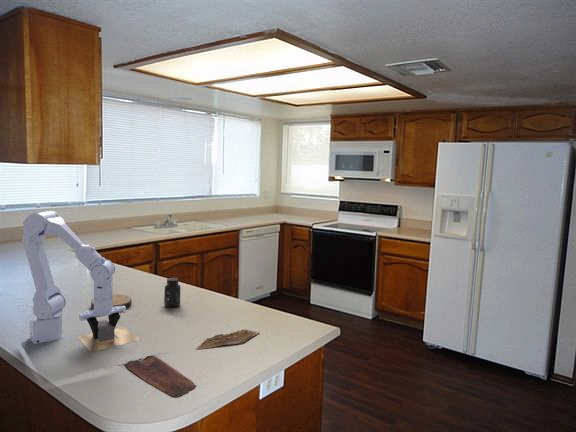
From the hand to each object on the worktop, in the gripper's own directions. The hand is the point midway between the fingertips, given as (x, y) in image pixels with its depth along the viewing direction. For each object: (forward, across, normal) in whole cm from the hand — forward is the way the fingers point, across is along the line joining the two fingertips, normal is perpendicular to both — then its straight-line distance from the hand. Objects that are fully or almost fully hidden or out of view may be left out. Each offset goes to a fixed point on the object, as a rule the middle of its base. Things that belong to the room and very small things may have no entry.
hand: (103, 336), depth 142 cm
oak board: (+2, +2, 0) cm, 3 cm away
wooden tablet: (+3, +6, -32) cm, 33 cm away
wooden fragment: (+3, +36, -22) cm, 42 cm away
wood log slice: (+3, +16, +37) cm, 40 cm away
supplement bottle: (+3, +37, +23) cm, 43 cm away
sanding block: (+1, 0, 0) cm, 1 cm away
